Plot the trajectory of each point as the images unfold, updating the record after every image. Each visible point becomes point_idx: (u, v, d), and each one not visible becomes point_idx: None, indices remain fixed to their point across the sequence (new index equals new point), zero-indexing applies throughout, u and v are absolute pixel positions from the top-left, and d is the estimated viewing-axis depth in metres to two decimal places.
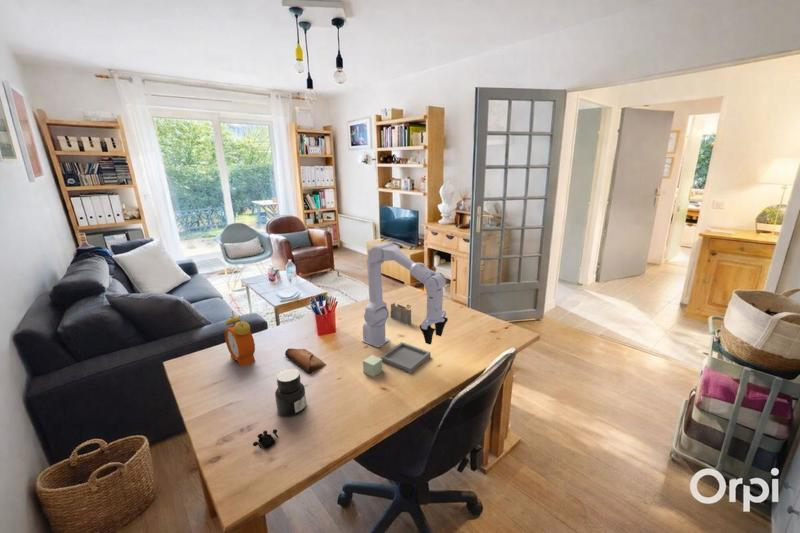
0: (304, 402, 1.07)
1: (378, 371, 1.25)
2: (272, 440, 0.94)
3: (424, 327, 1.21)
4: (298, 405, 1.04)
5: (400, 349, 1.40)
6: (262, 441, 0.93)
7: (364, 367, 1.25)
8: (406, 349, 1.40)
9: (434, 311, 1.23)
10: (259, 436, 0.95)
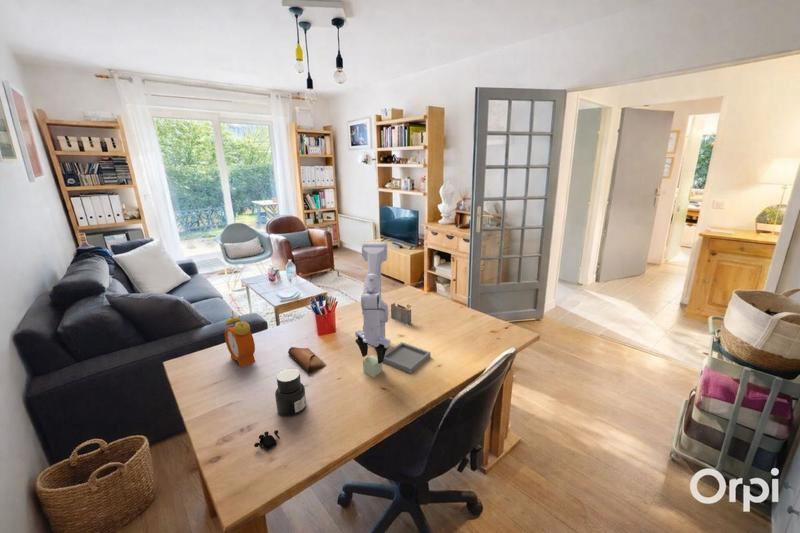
0: (304, 402, 1.07)
1: (378, 371, 1.25)
2: (273, 441, 0.94)
3: None
4: (298, 405, 1.04)
5: (400, 349, 1.40)
6: (263, 442, 0.93)
7: (364, 367, 1.25)
8: (406, 349, 1.40)
9: (363, 327, 1.22)
10: (260, 437, 0.94)
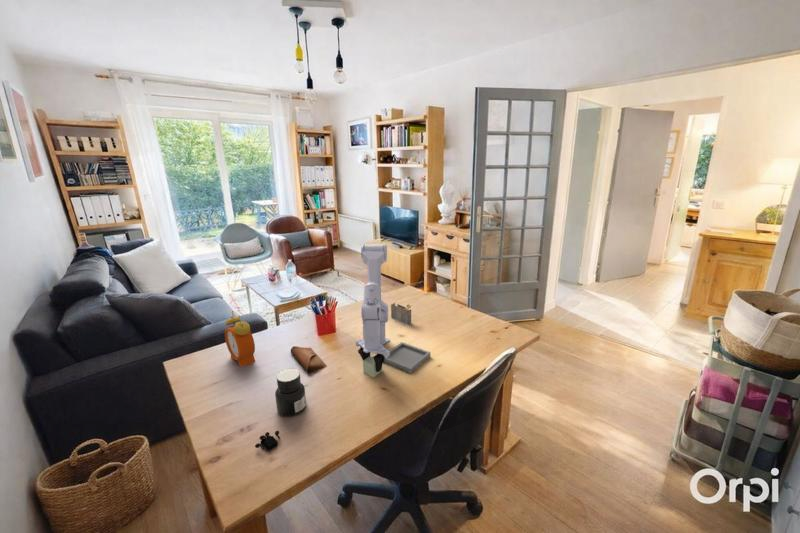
0: (304, 402, 1.07)
1: None
2: (274, 442, 0.93)
3: None
4: (298, 405, 1.04)
5: (400, 349, 1.40)
6: (264, 443, 0.93)
7: (364, 366, 1.25)
8: (406, 349, 1.40)
9: None
10: (261, 438, 0.94)
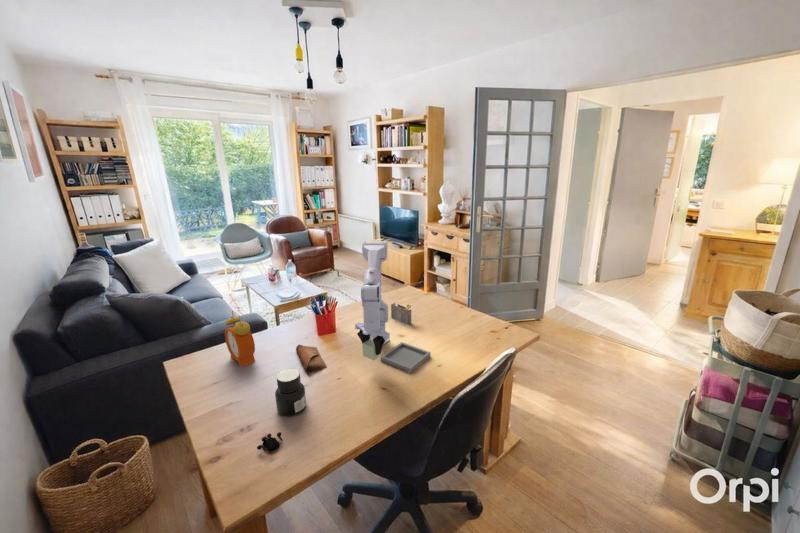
0: (304, 402, 1.07)
1: None
2: (276, 443, 0.93)
3: None
4: (298, 405, 1.04)
5: (400, 349, 1.40)
6: (266, 444, 0.92)
7: (363, 349, 1.23)
8: (406, 349, 1.40)
9: None
10: (263, 439, 0.93)
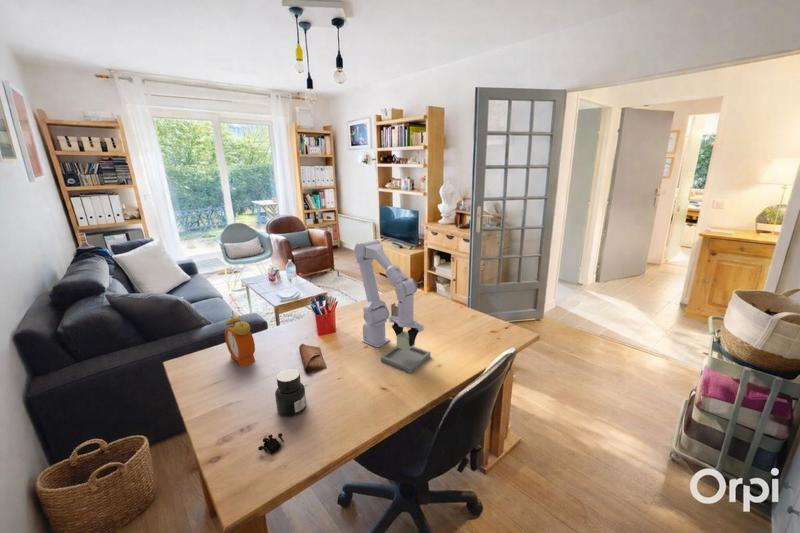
0: (304, 402, 1.07)
1: None
2: (278, 444, 0.93)
3: None
4: (298, 405, 1.04)
5: (400, 349, 1.40)
6: (267, 445, 0.92)
7: (397, 341, 1.32)
8: None
9: (398, 312, 1.29)
10: (264, 440, 0.93)
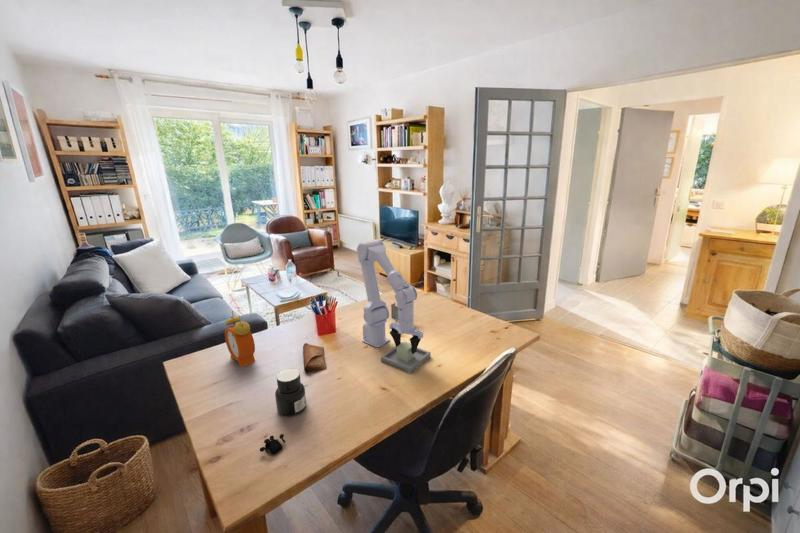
0: (304, 402, 1.07)
1: (411, 356, 1.33)
2: (279, 445, 0.92)
3: None
4: (298, 405, 1.04)
5: None
6: (269, 446, 0.91)
7: (397, 352, 1.33)
8: None
9: (398, 319, 1.30)
10: (266, 441, 0.93)
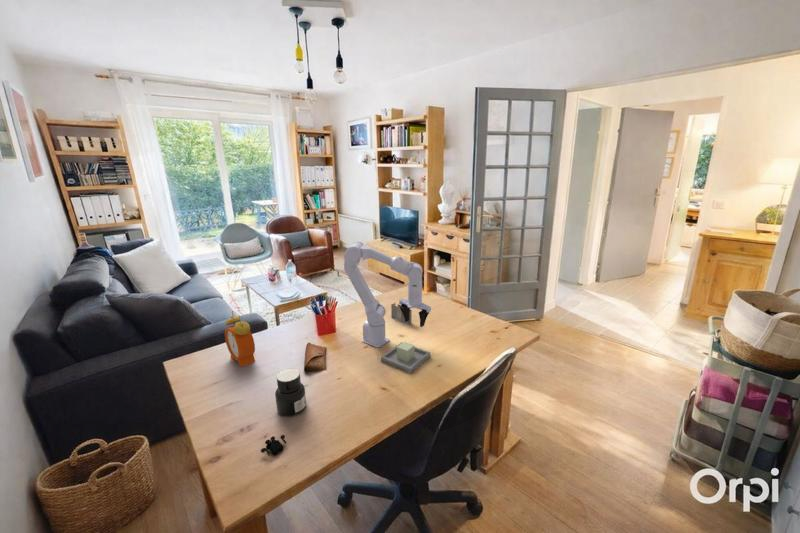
0: (304, 402, 1.07)
1: (411, 356, 1.33)
2: (280, 446, 0.92)
3: None
4: (298, 405, 1.04)
5: None
6: (270, 447, 0.91)
7: (397, 352, 1.33)
8: None
9: (408, 295, 1.40)
10: (267, 442, 0.92)
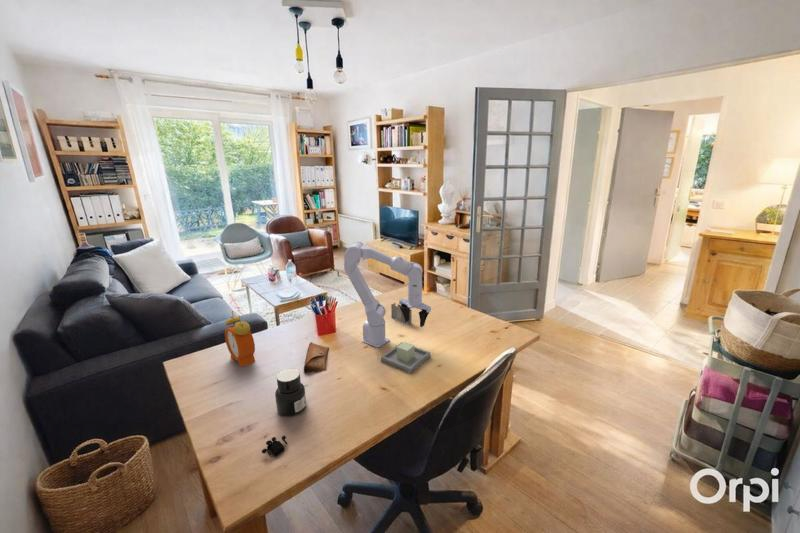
0: (304, 402, 1.07)
1: (411, 356, 1.33)
2: (281, 447, 0.92)
3: None
4: (298, 405, 1.04)
5: None
6: (271, 448, 0.91)
7: (397, 352, 1.33)
8: None
9: (408, 295, 1.40)
10: (268, 443, 0.92)
